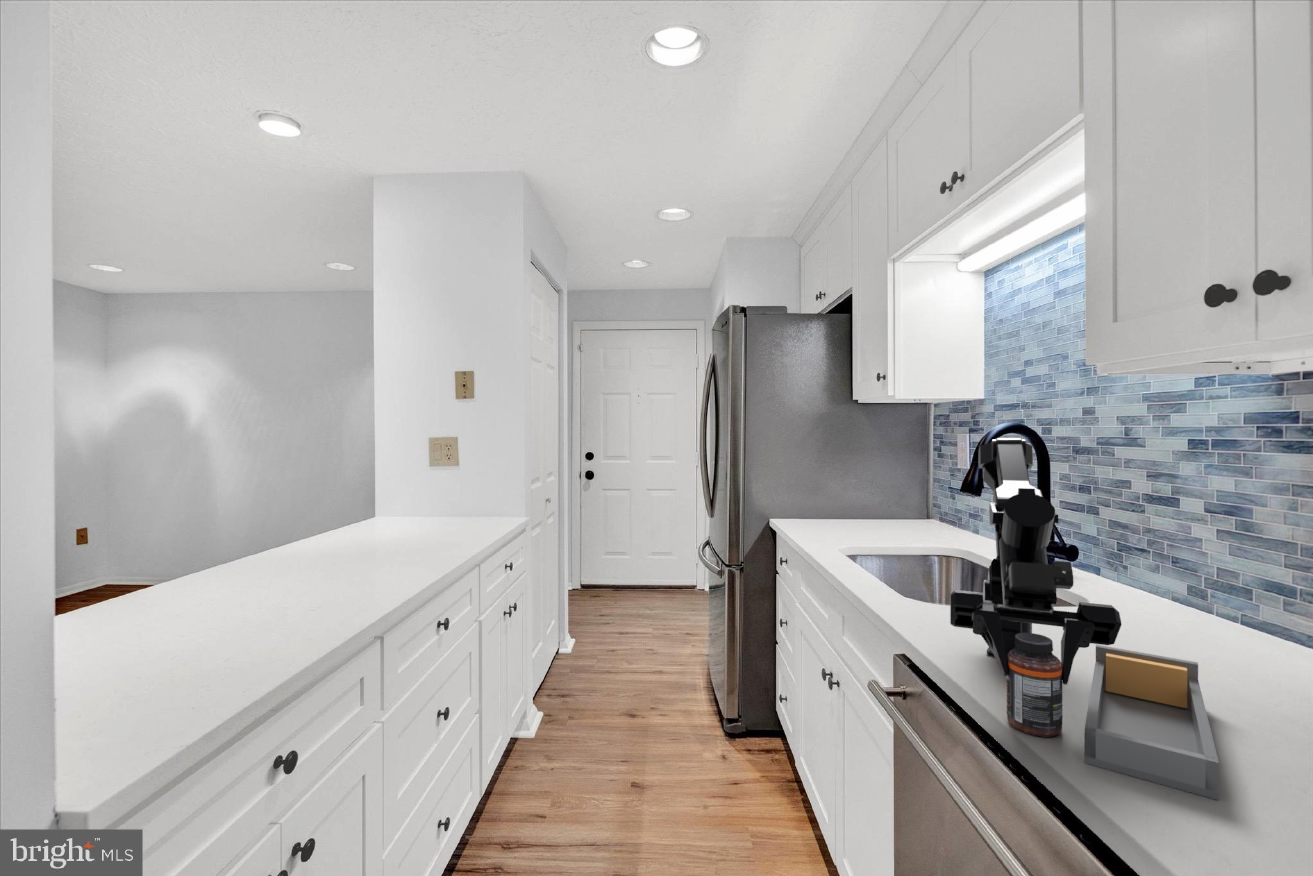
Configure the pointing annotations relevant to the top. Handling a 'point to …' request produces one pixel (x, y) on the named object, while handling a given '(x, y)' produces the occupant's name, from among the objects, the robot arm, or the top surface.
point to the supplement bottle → (1034, 686)
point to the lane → (1151, 732)
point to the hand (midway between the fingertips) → (1035, 678)
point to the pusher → (1146, 680)
